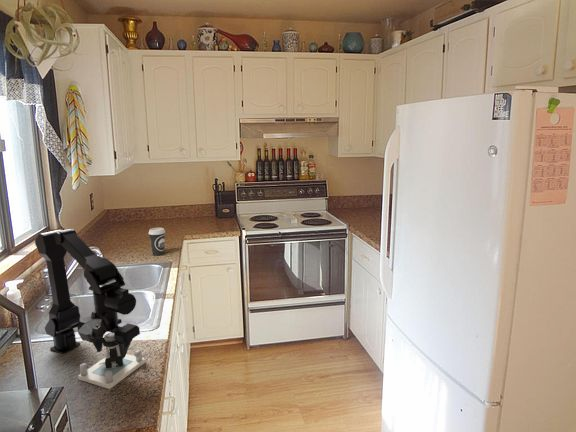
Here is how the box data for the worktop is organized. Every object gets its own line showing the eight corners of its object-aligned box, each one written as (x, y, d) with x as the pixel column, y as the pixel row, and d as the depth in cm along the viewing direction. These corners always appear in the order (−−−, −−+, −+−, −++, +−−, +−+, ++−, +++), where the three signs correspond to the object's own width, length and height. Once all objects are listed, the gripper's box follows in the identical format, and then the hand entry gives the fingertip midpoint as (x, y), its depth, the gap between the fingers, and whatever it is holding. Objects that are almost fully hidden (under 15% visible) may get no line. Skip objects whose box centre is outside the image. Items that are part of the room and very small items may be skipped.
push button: (99, 373, 115) (95, 342, 113) (100, 363, 120) (97, 333, 118) (123, 368, 117) (120, 337, 115) (124, 359, 122) (121, 329, 120)
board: (78, 379, 114) (76, 366, 113) (115, 354, 127) (114, 342, 126) (109, 389, 110) (108, 375, 109) (145, 362, 122) (144, 350, 121)
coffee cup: (167, 251, 236) (165, 226, 233) (167, 255, 227) (165, 230, 224) (150, 252, 233) (148, 228, 230) (149, 257, 224) (147, 231, 221)
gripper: (57, 312, 110) (64, 362, 113) (107, 324, 103) (114, 377, 106) (90, 296, 120) (96, 343, 123) (138, 306, 113) (143, 355, 116)
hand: (111, 354), depth 117 cm, fingers open, 9 cm apart
